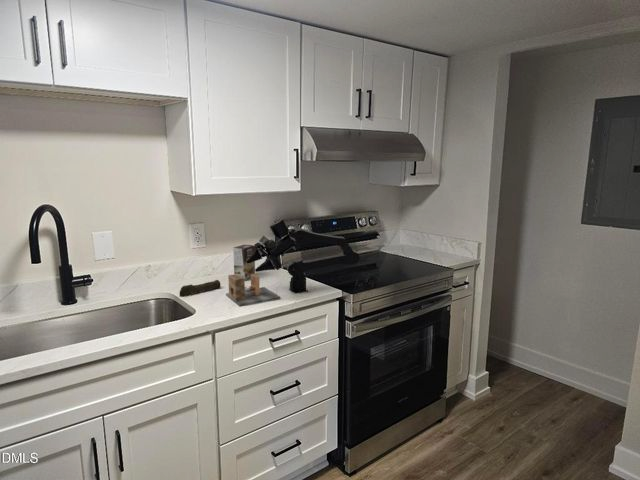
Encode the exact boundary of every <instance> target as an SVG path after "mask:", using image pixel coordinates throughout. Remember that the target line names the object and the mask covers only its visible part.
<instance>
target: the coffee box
mask: <svg viewBox="0 0 640 480" xmlns="http://www.w3.org/2000/svg"><path fill="white" fill-rule="evenodd" d="M254 246H255V244H254V245H252V244H242V245H238V246H234V247H233V275H234V274H238V275H240V276H241V277H243V278H244V279H245V282H246V281H249V280H251V274H256V271H255V269H256V261H254V262H251V263H247V262H246V261H247V260H248V259H249V258H250V256H251V255H252V254H253V252H254V249H255V248H254ZM248 279H249V280H248Z"/></svg>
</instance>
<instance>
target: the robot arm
mask: <svg viewBox="0 0 640 480" xmlns="http://www.w3.org/2000/svg"><path fill="white" fill-rule="evenodd" d="M268 226H269V228H270V230H271V232H272V234H273V235H274V237H275V238H276V239H277V238H278V239H279V240H277V241H275V240H274V239H269V238H268V237H266V236H265V235H262V236H261V238H260V239H259V240H258V242H256V243H255V244H254V248H255V249H254V252H253V254H252V255H251V256H250V258H249V259H248V260H247V261H246V262H247V263H251V262H254V261H255V262H256V261H259V260H262V259H263V258H265V257H266V259H265V260H264V262H263V263H261V264H259V265H258V266H257V267H255V273H257V272H258V273H259V272H265V271H273V270H274V271H275V270H276V271H278V270H280V269H282V266H283V264H282V263H281V261H280V259H279V257H280V256H282V257H283V256H285V253H286V252H287V251H290V249H293V250H294V251H297V250H299V249H298V248H299V244H309V243H310V244H311V243H318V244H322V245H323V244H324V245H331V246H336V247H337V246H338V247H339V248H340V249H341V252H339V253H338V254H335V255H329V256H323V257H318V258H313V259H307V260H303V257H302V256H300V257H298V258H292V260H289V261H288V262H287V264H286V270H287V273H288V274H289V275H290V276H291V277H290V281H289V288H288V290H289V291H291V292H292V293H294V294H300V293H305V292H307V293H308V292H309V290H308V289H307V275H306V273H307V272H308V271H310V270H316V269H317V270H318V269H321V268H327V267H331V266H337V265H346V266H350V265H351V266H352V265H354V266H355V265H357V264H358V263H359V261H360V260H361V259H360V254H359V253H358V252H357V251H356V250H355V249H353V248H352V247H351V245H349V243H348V242H347V239H346V238H345V237H343V236H337V235H330V234H329V235H328V234H325V233H324V234H322V233H319V232H318V233H316V232H313V231H310V230H308V229H305V228H302V227H298V228H296V229H293V228H288V226H287V224H286V222H285V220H284V219H283V218H282V219H279V220H277V221H274V222H272V224H270V225H268Z"/></svg>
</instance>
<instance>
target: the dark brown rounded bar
mask: <svg viewBox="0 0 640 480" xmlns="http://www.w3.org/2000/svg"><path fill="white" fill-rule="evenodd" d="M215 289H221V281H220V280H218V279H215V280H213V281H208V282H207V281H206V282H205V283H201V284H194V285H193V284H188V285H183V286H182V287H180V289H179V297H188V296H189V297H190V296H194V294H198V293H201V292H205V291H211V290H215Z"/></svg>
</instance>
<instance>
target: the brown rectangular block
mask: <svg viewBox="0 0 640 480" xmlns="http://www.w3.org/2000/svg"><path fill="white" fill-rule="evenodd" d="M260 288H261V287H260V276H259V275H257V274H256V273H255V274H251V279H250V286H245V292H248V291H251V293H253V294H254V295H256V296H257V295H260Z"/></svg>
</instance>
